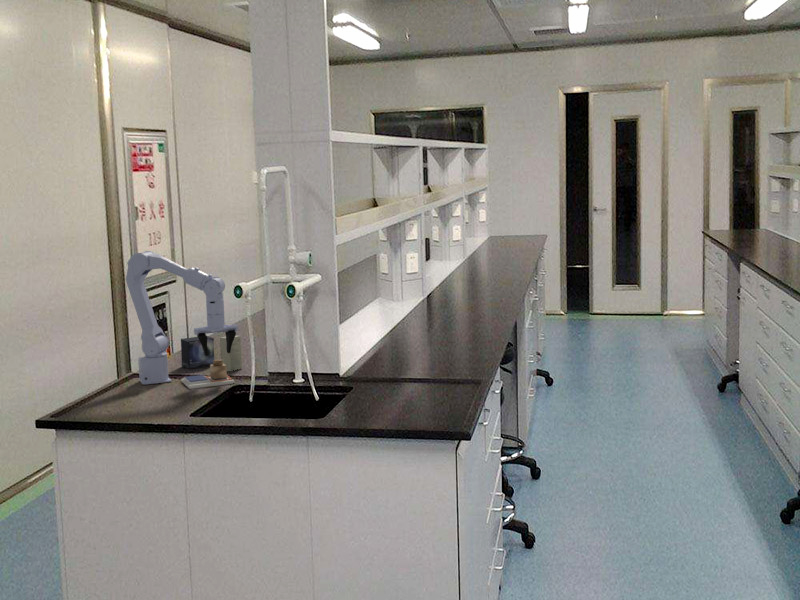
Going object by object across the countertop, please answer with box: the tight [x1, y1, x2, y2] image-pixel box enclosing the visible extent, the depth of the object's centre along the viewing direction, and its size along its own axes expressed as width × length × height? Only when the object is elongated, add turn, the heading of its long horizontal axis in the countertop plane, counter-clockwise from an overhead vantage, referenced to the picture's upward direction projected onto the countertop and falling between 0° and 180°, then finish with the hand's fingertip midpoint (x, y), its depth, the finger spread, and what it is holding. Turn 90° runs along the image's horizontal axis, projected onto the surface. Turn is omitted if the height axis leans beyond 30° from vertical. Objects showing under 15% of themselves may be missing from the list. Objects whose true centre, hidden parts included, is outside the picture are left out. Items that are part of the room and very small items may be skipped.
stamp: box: [209, 358, 228, 380], centre depth 288 cm, size 4×4×6 cm
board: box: [181, 374, 236, 390], centre depth 287 cm, size 15×12×2 cm
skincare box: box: [219, 334, 243, 372], centre depth 306 cm, size 6×4×12 cm
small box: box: [180, 335, 215, 370], centre depth 314 cm, size 11×6×10 cm, turn 129°
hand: (217, 353), depth 288 cm, fingers open, 7 cm apart
